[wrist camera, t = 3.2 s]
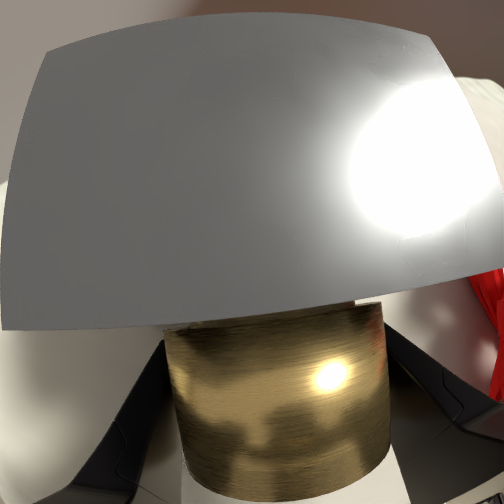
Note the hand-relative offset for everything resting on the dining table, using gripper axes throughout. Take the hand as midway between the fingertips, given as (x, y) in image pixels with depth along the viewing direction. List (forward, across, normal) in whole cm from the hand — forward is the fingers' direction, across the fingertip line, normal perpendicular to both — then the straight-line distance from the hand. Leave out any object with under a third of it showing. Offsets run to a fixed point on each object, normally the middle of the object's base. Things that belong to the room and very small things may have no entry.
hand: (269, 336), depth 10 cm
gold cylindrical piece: (+2, 0, +1) cm, 2 cm away
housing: (+8, 0, +2) cm, 8 cm away
